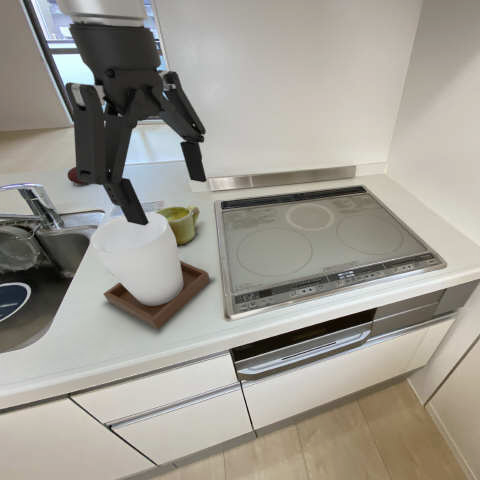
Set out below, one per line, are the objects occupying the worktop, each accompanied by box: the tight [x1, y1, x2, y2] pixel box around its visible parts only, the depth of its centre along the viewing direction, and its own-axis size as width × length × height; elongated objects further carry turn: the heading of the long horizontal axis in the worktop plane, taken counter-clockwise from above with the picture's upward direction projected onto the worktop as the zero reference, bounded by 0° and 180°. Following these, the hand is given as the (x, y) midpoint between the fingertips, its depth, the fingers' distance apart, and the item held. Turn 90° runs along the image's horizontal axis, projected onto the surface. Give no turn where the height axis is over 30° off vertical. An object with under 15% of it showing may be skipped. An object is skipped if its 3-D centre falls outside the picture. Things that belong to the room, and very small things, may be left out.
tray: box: [103, 260, 211, 330], centre depth 58 cm, size 15×15×3 cm
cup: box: [90, 211, 184, 306], centre depth 54 cm, size 13×13×17 cm
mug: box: [155, 204, 201, 246], centre depth 73 cm, size 12×10×10 cm
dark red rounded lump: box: [67, 166, 88, 185], centre depth 94 cm, size 7×8×6 cm
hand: (172, 198), depth 41 cm, fingers open, 13 cm apart
